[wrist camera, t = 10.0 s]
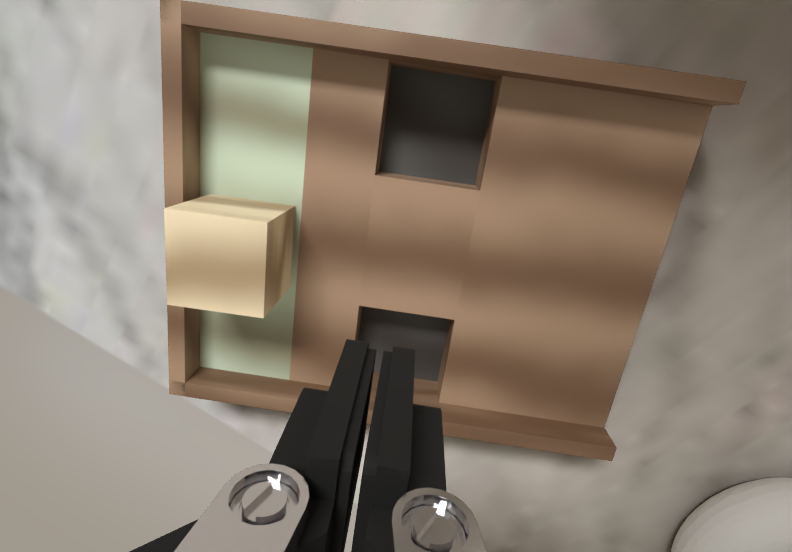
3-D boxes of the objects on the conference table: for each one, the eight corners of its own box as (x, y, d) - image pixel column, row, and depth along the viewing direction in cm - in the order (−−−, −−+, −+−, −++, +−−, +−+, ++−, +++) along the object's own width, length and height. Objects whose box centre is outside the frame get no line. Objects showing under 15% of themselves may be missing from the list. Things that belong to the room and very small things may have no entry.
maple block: (210, 194, 26) (164, 208, 22) (295, 205, 26) (267, 222, 21) (210, 274, 28) (167, 304, 23) (290, 286, 28) (263, 318, 23)
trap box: (207, 21, 26) (160, -3, 21) (686, 90, 26) (746, 81, 21) (205, 355, 33) (169, 393, 28) (584, 413, 33) (612, 461, 28)
